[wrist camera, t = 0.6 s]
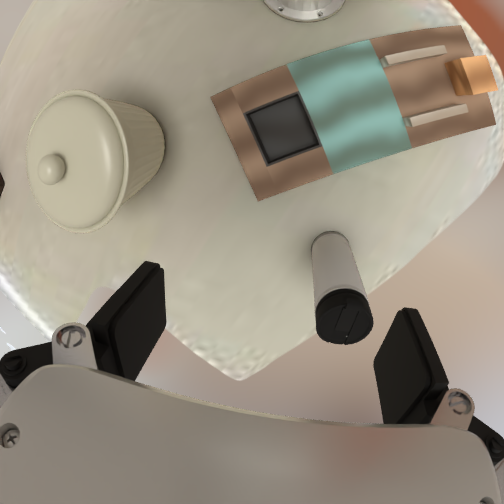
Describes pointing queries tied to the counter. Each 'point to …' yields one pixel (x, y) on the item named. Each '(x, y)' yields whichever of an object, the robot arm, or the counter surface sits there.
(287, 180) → the board
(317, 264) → the travel mug
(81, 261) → the counter surface
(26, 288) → the counter surface
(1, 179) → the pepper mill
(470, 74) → the block
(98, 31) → the counter surface
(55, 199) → the canister
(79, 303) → the counter surface
